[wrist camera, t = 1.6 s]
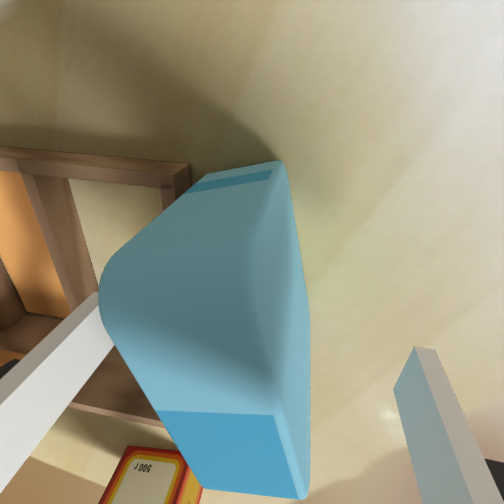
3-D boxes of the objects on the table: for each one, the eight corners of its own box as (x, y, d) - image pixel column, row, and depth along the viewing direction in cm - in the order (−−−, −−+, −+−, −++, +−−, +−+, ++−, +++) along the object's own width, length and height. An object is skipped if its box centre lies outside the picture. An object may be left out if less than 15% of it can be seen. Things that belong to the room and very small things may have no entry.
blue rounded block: (211, 167, 17) (71, 284, 7) (284, 153, 16) (242, 268, 6) (253, 317, 23) (208, 503, 13) (310, 314, 22) (310, 516, 12)
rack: (21, 318, 28) (-56, 380, 22) (-66, 139, 20) (-227, 163, 14) (201, 350, 26) (169, 429, 20) (189, 163, 18) (127, 205, 12)
